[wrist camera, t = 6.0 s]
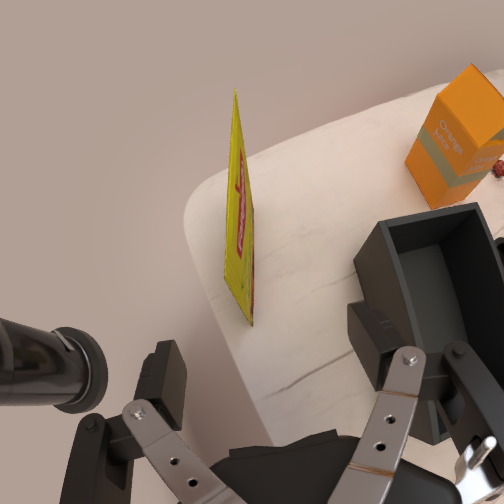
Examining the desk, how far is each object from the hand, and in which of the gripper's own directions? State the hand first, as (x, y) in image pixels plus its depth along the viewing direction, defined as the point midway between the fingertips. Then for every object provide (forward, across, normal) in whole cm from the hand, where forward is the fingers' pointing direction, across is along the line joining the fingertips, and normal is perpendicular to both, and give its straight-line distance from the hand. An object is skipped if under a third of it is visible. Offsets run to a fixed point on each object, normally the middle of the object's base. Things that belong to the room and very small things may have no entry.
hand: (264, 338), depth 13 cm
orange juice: (+28, +30, -2) cm, 41 cm away
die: (+28, +46, -2) cm, 54 cm away
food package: (+23, 0, -7) cm, 24 cm away
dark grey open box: (+14, +19, -16) cm, 29 cm away
